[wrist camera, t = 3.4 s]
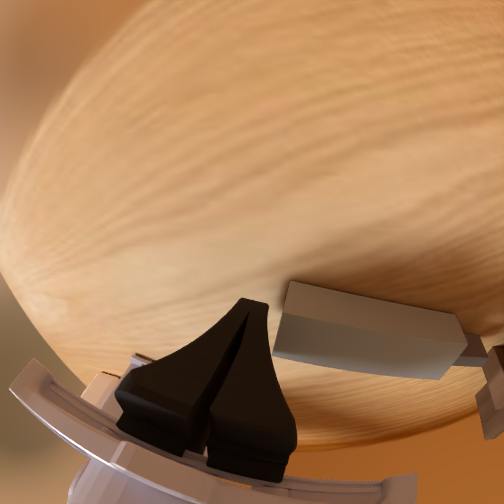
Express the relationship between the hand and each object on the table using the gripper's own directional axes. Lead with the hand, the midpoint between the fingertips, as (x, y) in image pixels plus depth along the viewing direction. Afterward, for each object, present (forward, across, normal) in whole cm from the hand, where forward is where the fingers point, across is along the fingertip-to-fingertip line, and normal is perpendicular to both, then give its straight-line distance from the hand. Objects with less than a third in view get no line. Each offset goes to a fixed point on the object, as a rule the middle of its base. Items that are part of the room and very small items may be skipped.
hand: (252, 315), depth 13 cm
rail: (+2, -8, 0) cm, 8 cm away
